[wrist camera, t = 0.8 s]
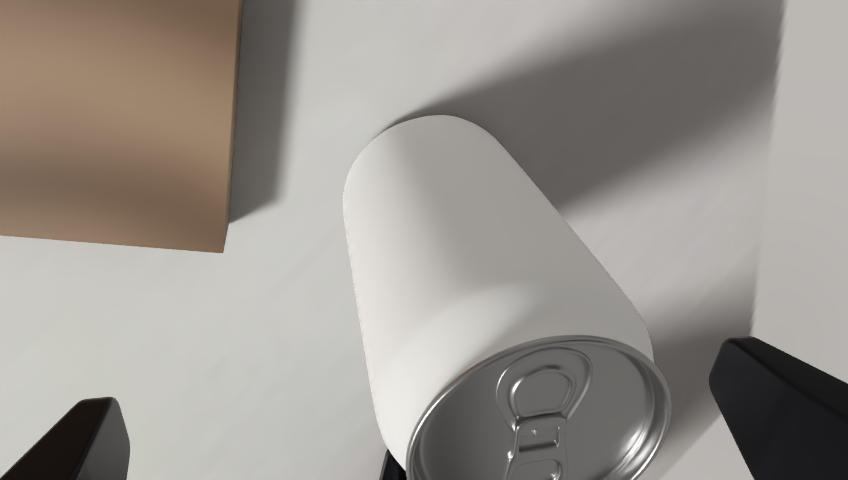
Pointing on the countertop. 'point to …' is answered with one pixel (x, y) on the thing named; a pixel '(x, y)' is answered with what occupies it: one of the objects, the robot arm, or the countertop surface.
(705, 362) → the countertop surface
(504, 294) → the can
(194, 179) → the cutting board
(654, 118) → the countertop surface
